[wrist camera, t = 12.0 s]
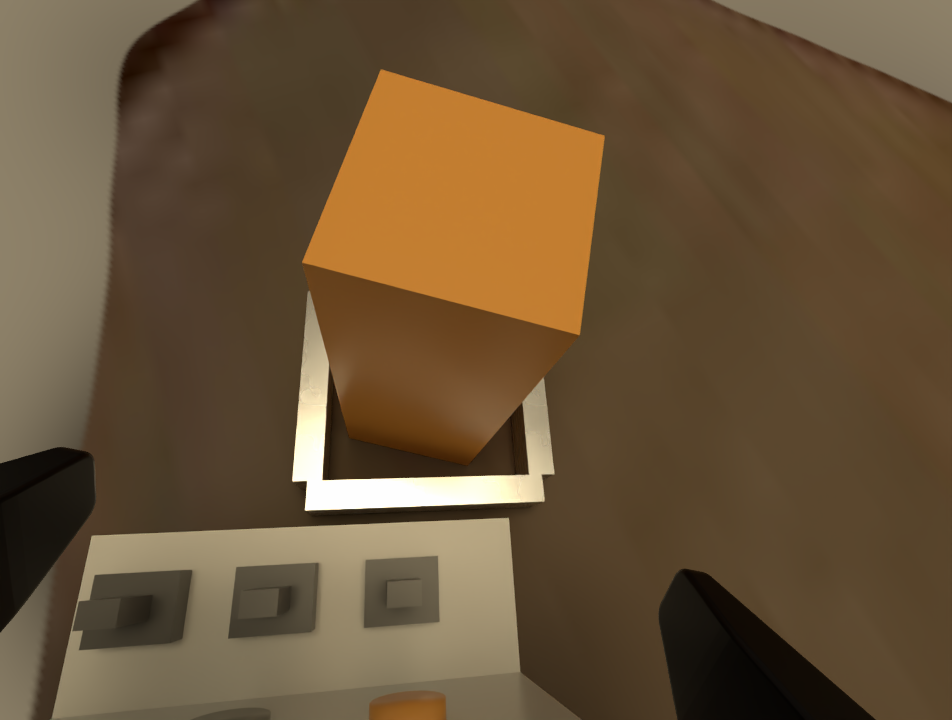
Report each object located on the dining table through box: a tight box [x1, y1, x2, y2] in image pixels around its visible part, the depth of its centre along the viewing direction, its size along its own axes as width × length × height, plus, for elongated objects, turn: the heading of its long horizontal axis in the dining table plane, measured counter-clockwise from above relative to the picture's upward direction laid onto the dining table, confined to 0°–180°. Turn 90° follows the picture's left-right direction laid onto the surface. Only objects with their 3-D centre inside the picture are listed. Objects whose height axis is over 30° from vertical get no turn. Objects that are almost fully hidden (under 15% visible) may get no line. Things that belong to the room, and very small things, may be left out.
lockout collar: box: [292, 291, 554, 516], centre depth 21 cm, size 10×10×2 cm
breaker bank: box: [50, 518, 581, 720], centre depth 14 cm, size 6×14×8 cm, turn 93°
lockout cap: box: [302, 70, 605, 466], centre depth 16 cm, size 5×5×13 cm
